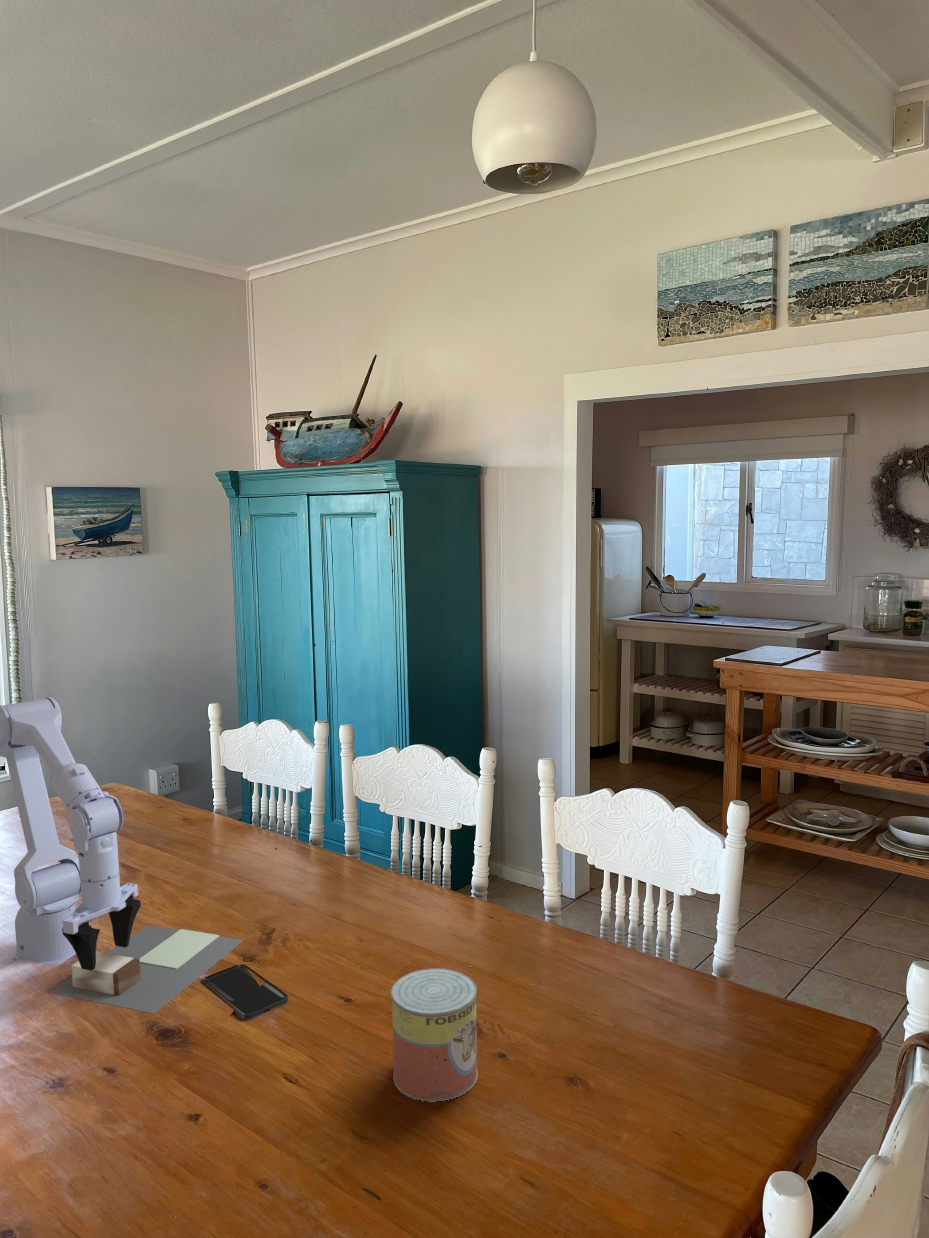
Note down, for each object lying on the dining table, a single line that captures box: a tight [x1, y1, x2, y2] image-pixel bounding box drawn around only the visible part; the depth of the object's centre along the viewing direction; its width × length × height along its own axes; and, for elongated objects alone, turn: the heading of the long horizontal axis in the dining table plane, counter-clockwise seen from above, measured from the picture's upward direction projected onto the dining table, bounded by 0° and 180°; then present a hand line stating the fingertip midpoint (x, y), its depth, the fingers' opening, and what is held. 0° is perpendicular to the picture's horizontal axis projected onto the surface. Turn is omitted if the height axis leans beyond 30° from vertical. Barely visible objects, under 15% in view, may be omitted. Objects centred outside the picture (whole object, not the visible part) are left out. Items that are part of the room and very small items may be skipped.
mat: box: [48, 924, 244, 1014], centre depth 147 cm, size 20×24×1 cm
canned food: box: [390, 967, 479, 1103], centre depth 118 cm, size 11×11×12 cm
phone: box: [201, 963, 289, 1021], centre depth 139 cm, size 8×1×15 cm
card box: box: [71, 950, 141, 996], centre depth 142 cm, size 9×5×4 cm, turn 71°
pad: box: [140, 928, 220, 969], centre depth 153 cm, size 12×8×1 cm, turn 161°
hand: (105, 956), depth 141 cm, fingers open, 7 cm apart
